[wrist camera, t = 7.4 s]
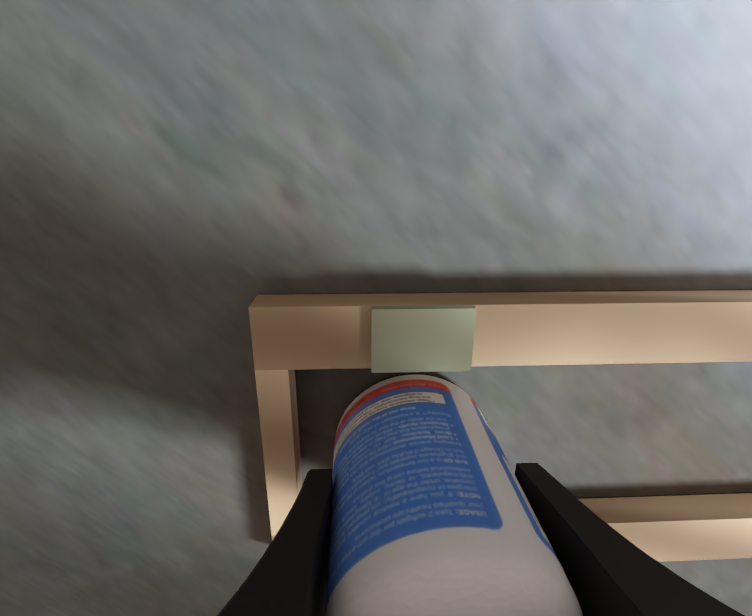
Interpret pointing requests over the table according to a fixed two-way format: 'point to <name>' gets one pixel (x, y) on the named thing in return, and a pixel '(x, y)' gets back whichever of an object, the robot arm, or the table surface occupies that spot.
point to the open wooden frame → (506, 348)
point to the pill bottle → (433, 513)
